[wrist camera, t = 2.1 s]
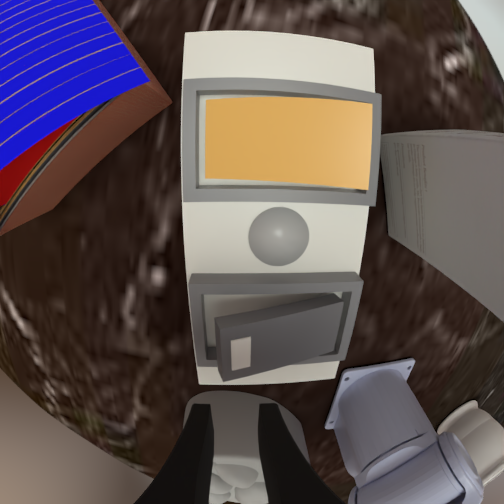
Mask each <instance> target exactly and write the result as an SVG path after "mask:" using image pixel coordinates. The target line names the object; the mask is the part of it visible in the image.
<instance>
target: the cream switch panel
mask: <svg viewBox="0 0 504 504" xmlns="http://www.w3.org/2000/svg"><path fill="white" fill-rule="evenodd" d="M241 97H302V98H320V99H334V100H344V101H354V102H362V103H370V104H373V105H372V144H371V162H370V175H369V187H368V190H362V189H354V188H345V187H336V186H326V185H315V184H304V183H291V182H276V181H259V180H238V179H205V119H206V100H209V99H222V98H241ZM380 140H381V94H378V93H375V75H374V53H373V49H372V48H368V47H364V46H360V45H355V44H351V43H346V42H341V41H336V40H331V39H325V38H319V37H312V36H305V35H297V34H288V33H277V32H262V31H204V32H189V33H185V43H184V58H183V76H182V103H181V184H182V213H183V233H184V249H185V263H186V276H187V288H188V298H189V308H190V318H191V327H192V335H193V344H194V351H195V359H196V366H197V373H198V380H199V384H207V385H250V384H275V383H291V382H303V381H314V380H324V379H332V378H335V375H336V372H337V368H338V365H339V361H342V360H345V357H346V354H347V350H348V346H349V343H350V339H351V335H352V331H353V327H354V323H355V319H356V314H357V310H358V306H359V301H360V296H361V292H362V287H363V282H364V281H363V280H362V279H361V278H360V277H359V272H360V266H361V260H362V254H363V247H364V241H365V234H366V226H367V219H368V210H369V206H375V204H376V195H377V184H378V173H379V159H380ZM332 293H334V294H336V295H337V296H338V297H339V298H341V299H342V300H343V301H344V304H343V309H342V314H341V319H340V324H339V329H338V333H337V338H336V342H335V346H334V350H333V351H331V352H329V353H326V354H323V355H320V356H317V357H314V358H311V359H307V360H304V361H301V362H298V363H295V364H291V365H288V366H284V367H281V368H277V369H274V370H270V371H267V372H263V373H259V374H255V375H251V376H247V377H243V378H239V379H235V380H230V381H226V382H223V381H222V379H221V376H220V374H219V372H218V366H217V353H216V338H215V322H214V317H220V316H226V315H231V314H237V313H242V312H248V311H253V310H258V309H263V308H268V307H273V306H278V305H283V304H288V303H292V302H297V301H302V300H306V299H311V298H315V297H319V296H324V295H328V294H332Z"/></svg>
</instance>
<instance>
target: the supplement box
mask: <svg viewBox="0 0 504 504" xmlns="http://www.w3.org/2000/svg"><path fill="white" fill-rule="evenodd" d="M380 157H381V164H382V171H383V179H384V187H385V197H386V208H387V221H388V235H389V236H390V237H392V238H394V239H395V240H397V241H398V242H399V243H401V244H402V245H404V246H405V247H407V248H408V249H410V250H411V251H413V252H414V253H416V254H417V255H418V256H420V257H421V258H423V259H424V260H426V261H427V262H428V263H430V264H431V265H432V266H434V267H435V268H437V269H438V270H439V271H441V272H442V273H443V274H445V275H446V276H447V277H449V278H450V279H451V280H453V281H454V282H455V283H457V284H458V285H459V286H461V287H462V288H463V289H464V290H466V291H467V292H468V293H469V294H471V295H472V296H473V297H474V298H476V299H477V300H478V301H479V302H480V303H482V304H483V305H484V306H485V307H487V308H488V309H489V310H490V311H492V312H493V313H494V314H495V315H496V316H497V317H498V318H499V319H501V320H502V321H503V322H504V133H495V132H485V131H474V130H456V129H455V130H425V131H411V132H400V133H390V134H383V135H381V140H380Z"/></svg>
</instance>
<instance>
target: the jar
mask: <svg viewBox="0 0 504 504" xmlns="http://www.w3.org/2000/svg"><path fill="white" fill-rule="evenodd" d="M442 432H447V433H448V432H452V433H454V434H455V435H456V436H457V437H458V438H459V440H460V441H461V442H462V444H463V445H464V447H465V448H466V450H467V452H468V453H469V455H470V457H471V459H472V460H473V462H474V464H475V467H476V469H477V471H478V474H479V476H480V478H481V480H482V482H483V486H486V485H487V484H488V483H490V482H491V481H493V480H494V479H495V478H496V477H498V476H499V475H500V474H501V473H502V472H504V429H503V427H502V426H501V425H500V424H499V423H498V422H497V421H496V420H494V419H493V418H492V416H490V415H489V414H488V413H487V412H485V411H483V410H481V409H478V403H477V401H476V400H472V401H469V402H467V403H465V404H463V405H461V406H460V407H458V408H457V409H456V410H454V411H453V412H452V413H451V414H450V415H449V416H448V417H447V418H446V419H445V420H444V421H443V422H442V423H441V424H440V426H439V427H438V430H437V433H438V434H439V435H440V434H441V433H442Z"/></svg>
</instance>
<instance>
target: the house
mask: <svg viewBox="0 0 504 504" xmlns="http://www.w3.org/2000/svg"><path fill="white" fill-rule="evenodd" d="M172 103H173V102H172V100H171V99H170V97H169V96H168V95H167V93H166V92H165V90H164V89H163V87H162V86H161V85H160V83H159V82H158V80H157V79H156V78H155V76H154V75H153V73H152V72H151V70H150V69H149V68H148V66H147V65H146V63H145V62H144V61H143V59H142V58H141V56H140V55H139V54H138V52H137V51H136V50H135V48H134V47H133V45H132V44H131V43H130V41H129V40H128V38H127V37H126V36H125V34H124V33H123V32H122V30H121V29H120V28H119V26H118V25H117V23H116V22H115V21H114V19H113V18H112V17H111V15H110V14H109V13H108V11H107V10H106V9H105V7H104V6H103V5H102V3H101V2H100V1H99V0H0V236H1V235H2V234H4V233H6V232H8V231H10V230H12V229H14V228H15V227H17V226H19V225H21V224H23V223H25V222H27V221H29V220H31V219H33V218H35V217H38V216H40V215H42V214H44V213H46V212H48V211H50V210H52V209H54V207H55V206H56V205H57V204H58V203H59V202H60V201H61V200H62V199H63V198H64V196H65V195H66V194H67V193H68V192H69V191H70V190H71V189H72V188H73V187H74V186H75V185H76V184H77V183H78V182H79V181H80V180H81V179H82V178H83V177H84V176H85V175H86V174H87V173H88V172H89V171H90V170H91V169H92V168H93V167H94V166H95V165H96V164H98V163H99V162H100V161H101V160H102V159H103V158H104V157H105V156H106V155H107V154H109V153H110V152H111V151H112V150H113V149H114V148H115V147H116V146H118V145H119V144H120V143H121V142H122V141H124V140H125V139H126V138H127V137H128V136H130V135H131V134H132V133H133V132H134V131H136V130H137V129H138V128H139V127H141V126H142V125H143V124H145V123H146V122H147V121H148V120H150V119H151V118H152V117H154V116H155V115H156V114H158V113H159V112H160V111H162V110H163V109H165V108H166V107H167V106H169V105H170V104H172ZM86 111H87V112H86ZM85 112H86V113H85ZM83 113H85V114H84V115H83V116H82V117H81V118H80V119H79V120H78V121H77V122H76V123H75V124H74V125H73V126H72V127H71V128H70V129H69V130H68V131H67V132H66V133H65V134H64V135H63V136H62V137H61V135H62V134H63V133H64V132H65V131H66V130H67V129H68V128H69V127H70V126H71V125H72V124H73V123H74V122H75V121H76V120H77V119H78V118H79V117H80V116H81V115H82V114H83ZM60 137H61V138H60ZM59 138H60V139H59ZM58 139H59V141H58V142H57V143H56V144H55V145H54V146H53V147H52V145H53V144H54V143H55V142H56V141H57V140H58ZM51 147H52V148H51ZM50 148H51V150H50V151H49V152H48V153H47V154H46V155H45V153H46V152H47V151H48V150H49V149H50ZM44 155H45V157H44V158H43V159H42V160H41V161H40V159H41V158H42V157H43V156H44ZM39 161H40V163H39V164H38V165H37V166H36V164H37V163H38V162H39ZM35 166H36V167H35ZM34 167H35V169H33V168H34Z"/></svg>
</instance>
